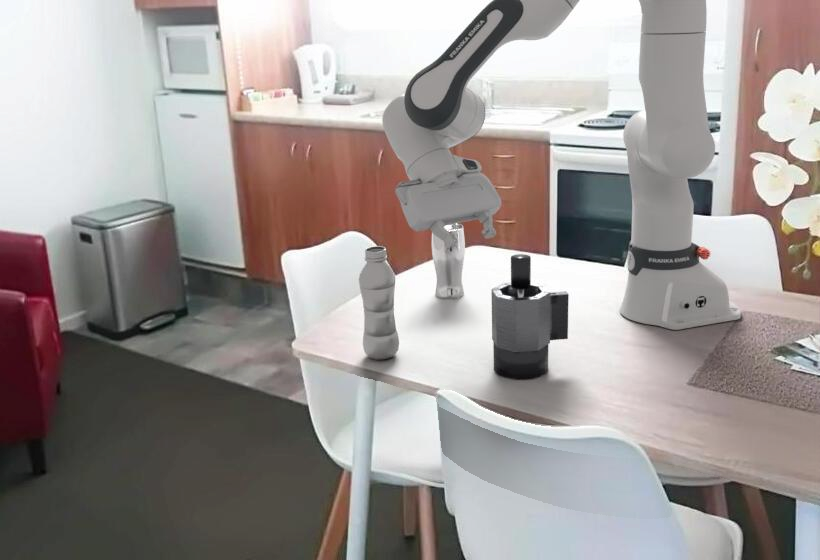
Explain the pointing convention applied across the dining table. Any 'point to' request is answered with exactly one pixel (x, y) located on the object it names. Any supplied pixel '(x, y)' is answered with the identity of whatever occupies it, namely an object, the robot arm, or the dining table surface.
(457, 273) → the beer glass
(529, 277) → the plunger
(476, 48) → the robot arm
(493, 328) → the press carafe
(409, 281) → the dining table surface
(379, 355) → the plastic bottle
